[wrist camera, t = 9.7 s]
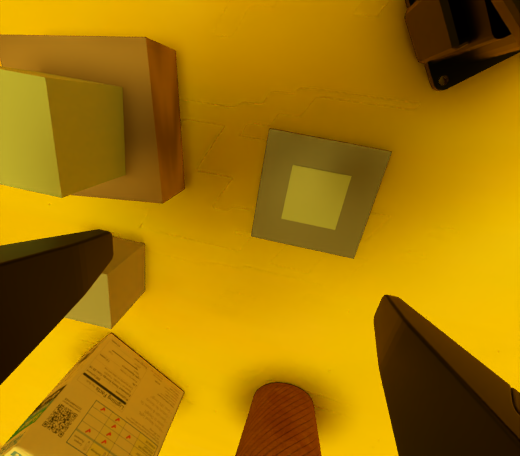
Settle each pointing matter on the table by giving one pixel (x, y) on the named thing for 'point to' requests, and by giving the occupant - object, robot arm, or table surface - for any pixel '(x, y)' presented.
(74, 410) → the light bulb box
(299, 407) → the disposable coffee cup
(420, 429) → the robot arm
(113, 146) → the sage cube
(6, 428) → the table surface
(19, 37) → the walnut block
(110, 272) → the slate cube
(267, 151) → the swatch card
